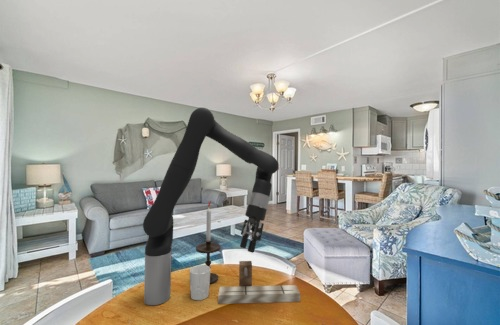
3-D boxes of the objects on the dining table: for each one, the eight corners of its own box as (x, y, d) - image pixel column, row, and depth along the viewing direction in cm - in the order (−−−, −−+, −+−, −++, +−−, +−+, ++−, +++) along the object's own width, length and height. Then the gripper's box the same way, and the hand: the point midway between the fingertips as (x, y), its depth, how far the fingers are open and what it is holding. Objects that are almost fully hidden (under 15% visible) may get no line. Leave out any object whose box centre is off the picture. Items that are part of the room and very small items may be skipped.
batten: (218, 303, 81) (218, 295, 81) (219, 294, 87) (219, 286, 87) (300, 301, 82) (300, 293, 83) (296, 292, 88) (295, 284, 88)
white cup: (206, 288, 92) (206, 263, 92) (213, 297, 85) (213, 270, 85) (186, 293, 88) (187, 267, 88) (192, 303, 81) (193, 275, 81)
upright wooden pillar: (239, 301, 83) (239, 270, 83) (239, 288, 92) (239, 261, 92) (252, 300, 83) (252, 270, 83) (251, 288, 92) (251, 260, 92)
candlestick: (222, 274, 104) (223, 199, 105) (217, 286, 93) (217, 202, 95) (200, 273, 105) (200, 198, 106) (191, 285, 94) (192, 201, 96)
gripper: (242, 203, 91) (231, 244, 87) (255, 203, 78) (243, 251, 74) (259, 208, 93) (248, 248, 89) (274, 209, 80) (263, 256, 76)
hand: (246, 249), depth 81 cm, fingers open, 8 cm apart
